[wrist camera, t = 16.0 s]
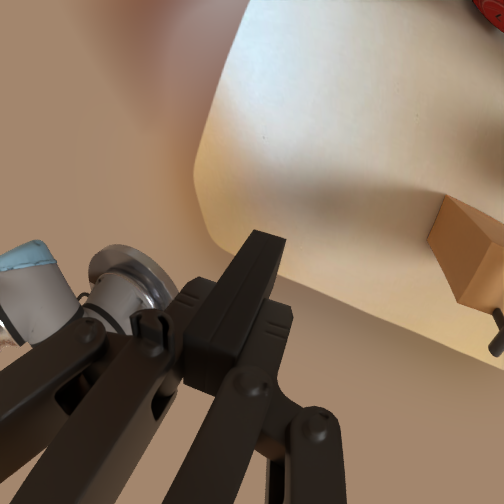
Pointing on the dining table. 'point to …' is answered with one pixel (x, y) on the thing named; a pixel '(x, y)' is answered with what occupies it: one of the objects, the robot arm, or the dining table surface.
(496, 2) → the headphones
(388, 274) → the dining table surface
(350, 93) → the dining table surface
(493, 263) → the box
